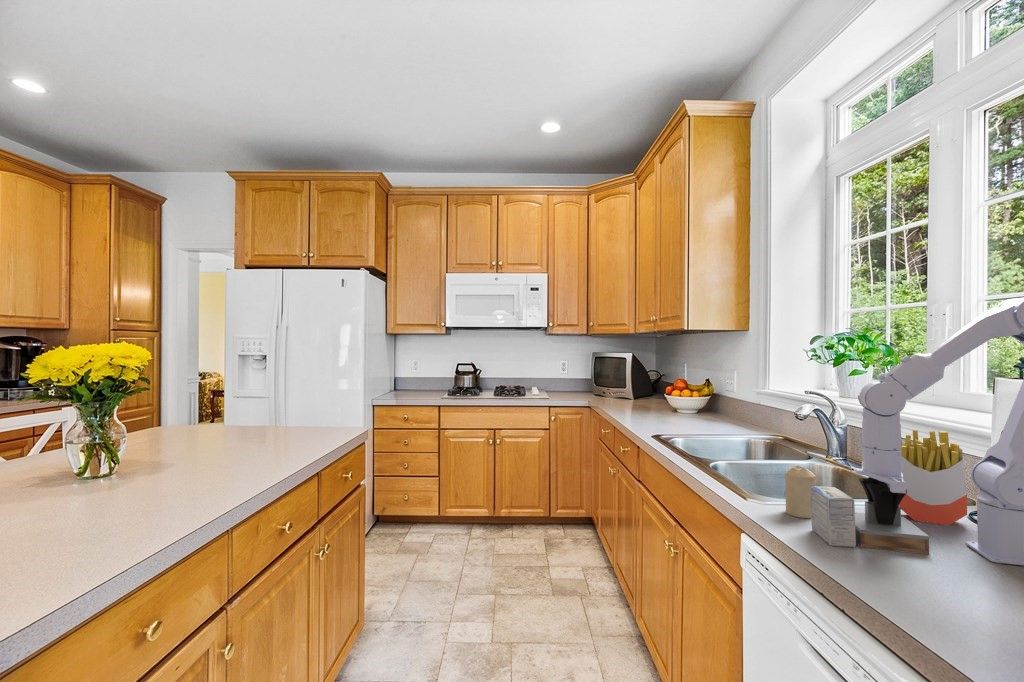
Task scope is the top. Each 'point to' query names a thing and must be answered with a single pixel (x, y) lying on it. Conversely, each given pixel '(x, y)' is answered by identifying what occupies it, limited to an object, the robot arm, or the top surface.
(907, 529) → the lid
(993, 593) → the top surface
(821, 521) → the medicine box
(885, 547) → the box
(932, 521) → the french fries container
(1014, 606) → the top surface
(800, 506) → the candle
